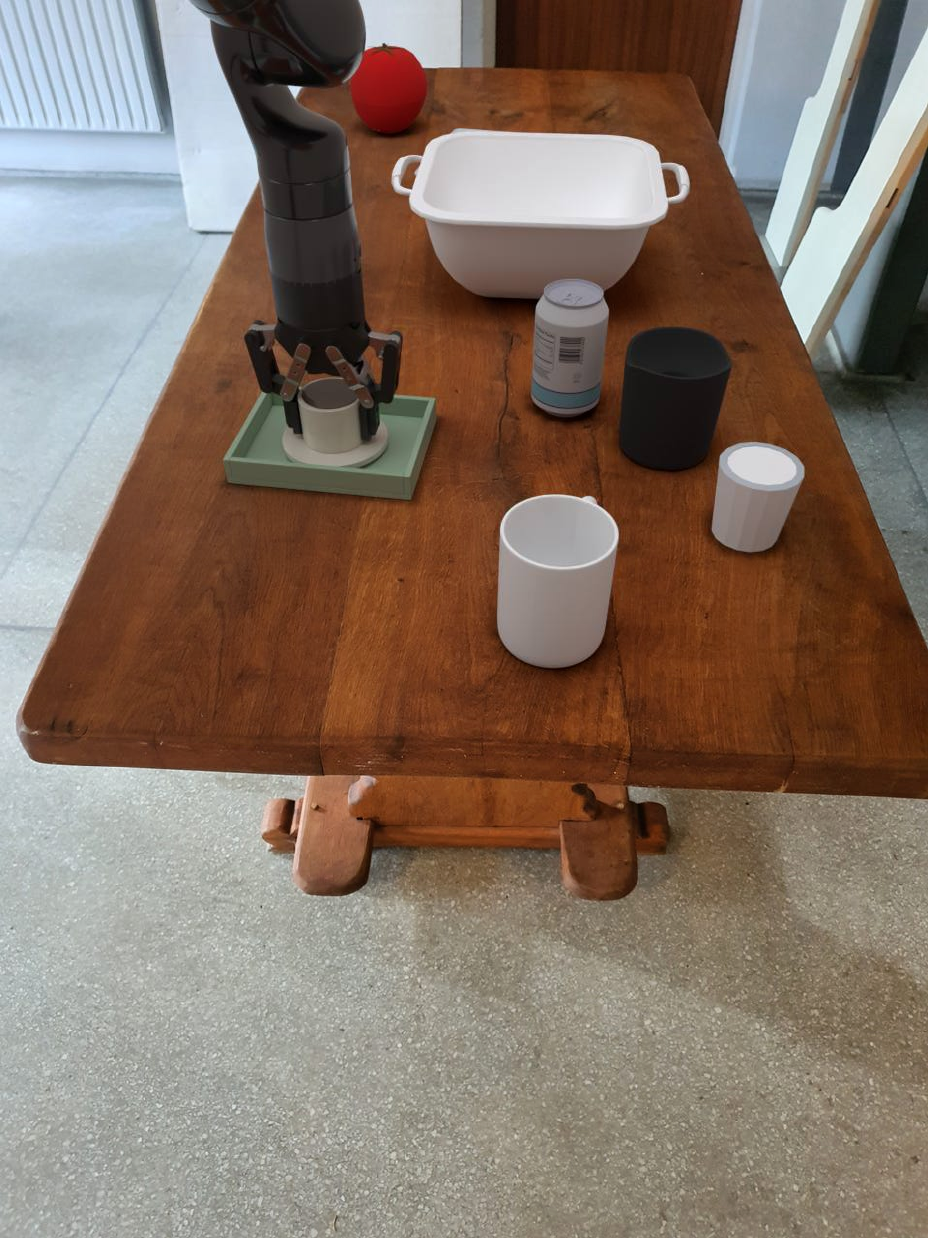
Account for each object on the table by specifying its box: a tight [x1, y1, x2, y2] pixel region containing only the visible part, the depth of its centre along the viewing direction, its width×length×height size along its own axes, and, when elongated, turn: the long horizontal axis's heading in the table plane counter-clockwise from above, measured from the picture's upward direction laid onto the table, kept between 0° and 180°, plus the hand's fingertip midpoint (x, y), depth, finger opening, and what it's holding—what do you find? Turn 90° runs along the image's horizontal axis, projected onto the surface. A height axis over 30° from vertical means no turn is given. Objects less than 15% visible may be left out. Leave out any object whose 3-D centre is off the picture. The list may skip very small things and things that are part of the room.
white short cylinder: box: [711, 441, 805, 553], centre depth 79 cm, size 7×7×7 cm
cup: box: [496, 494, 620, 669], centre depth 71 cm, size 8×12×10 cm
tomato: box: [349, 42, 428, 135], centre depth 152 cm, size 12×12×13 cm
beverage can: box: [530, 279, 610, 418], centre depth 92 cm, size 7×7×12 cm
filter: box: [282, 376, 388, 468], centre depth 88 cm, size 10×10×5 cm
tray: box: [222, 386, 437, 501], centre depth 90 cm, size 17×13×3 cm
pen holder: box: [618, 325, 733, 471], centre depth 88 cm, size 9×9×10 cm
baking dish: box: [391, 131, 691, 300], centre depth 113 cm, size 34×28×13 cm
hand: (334, 432), depth 89 cm, fingers closed on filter, 6 cm apart
